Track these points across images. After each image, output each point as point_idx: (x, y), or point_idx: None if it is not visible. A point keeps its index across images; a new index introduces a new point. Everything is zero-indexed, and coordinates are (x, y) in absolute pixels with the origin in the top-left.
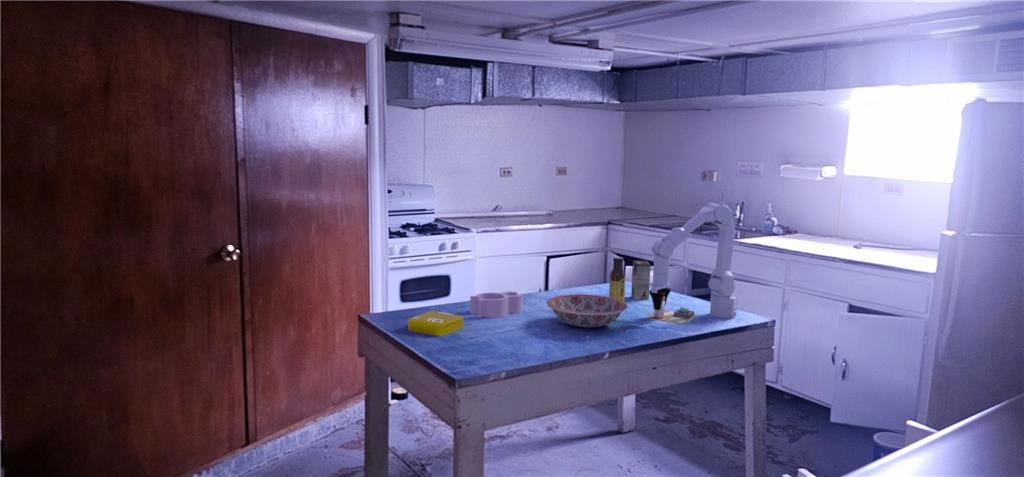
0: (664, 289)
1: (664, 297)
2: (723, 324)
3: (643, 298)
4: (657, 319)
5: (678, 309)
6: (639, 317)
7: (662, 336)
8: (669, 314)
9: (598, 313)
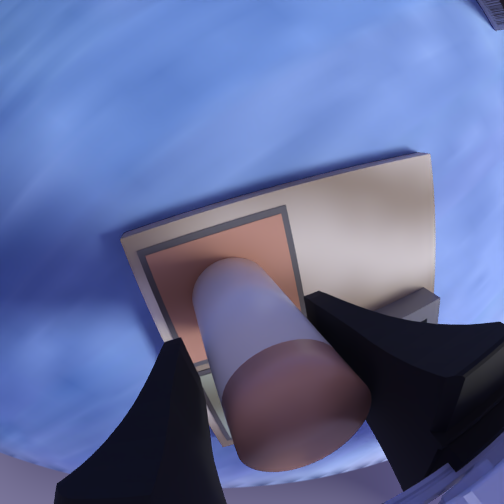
0: (419, 475)
1: (302, 460)
2: (373, 443)
3: (493, 5)
4: (170, 326)
5: (428, 306)
6: (174, 132)
7: (25, 441)
8: (364, 281)
9: None
